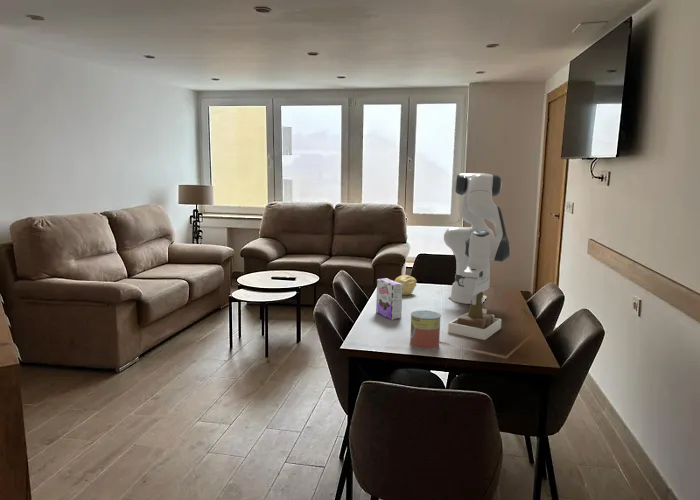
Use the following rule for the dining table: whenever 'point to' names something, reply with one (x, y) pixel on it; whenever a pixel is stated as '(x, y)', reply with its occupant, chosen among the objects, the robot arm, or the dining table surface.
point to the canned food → (425, 330)
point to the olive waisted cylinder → (476, 307)
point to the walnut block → (476, 321)
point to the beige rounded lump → (406, 284)
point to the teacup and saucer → (485, 312)
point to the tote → (474, 329)
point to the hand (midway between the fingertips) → (476, 303)
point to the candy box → (389, 298)
